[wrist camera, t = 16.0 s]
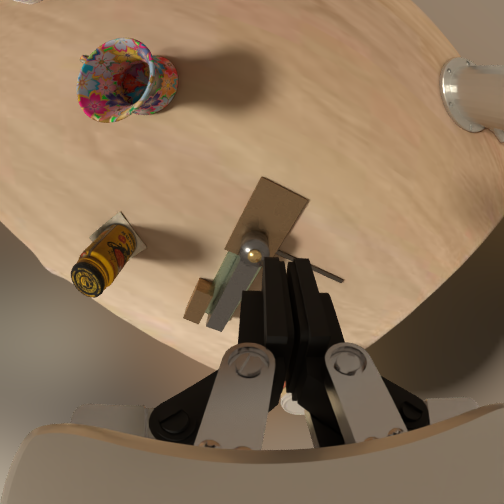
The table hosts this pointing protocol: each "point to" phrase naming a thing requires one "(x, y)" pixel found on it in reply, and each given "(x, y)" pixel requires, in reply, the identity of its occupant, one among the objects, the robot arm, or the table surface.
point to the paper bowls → (28, 1)
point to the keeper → (210, 291)
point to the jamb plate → (270, 219)
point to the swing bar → (238, 278)
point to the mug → (124, 81)
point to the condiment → (106, 256)
